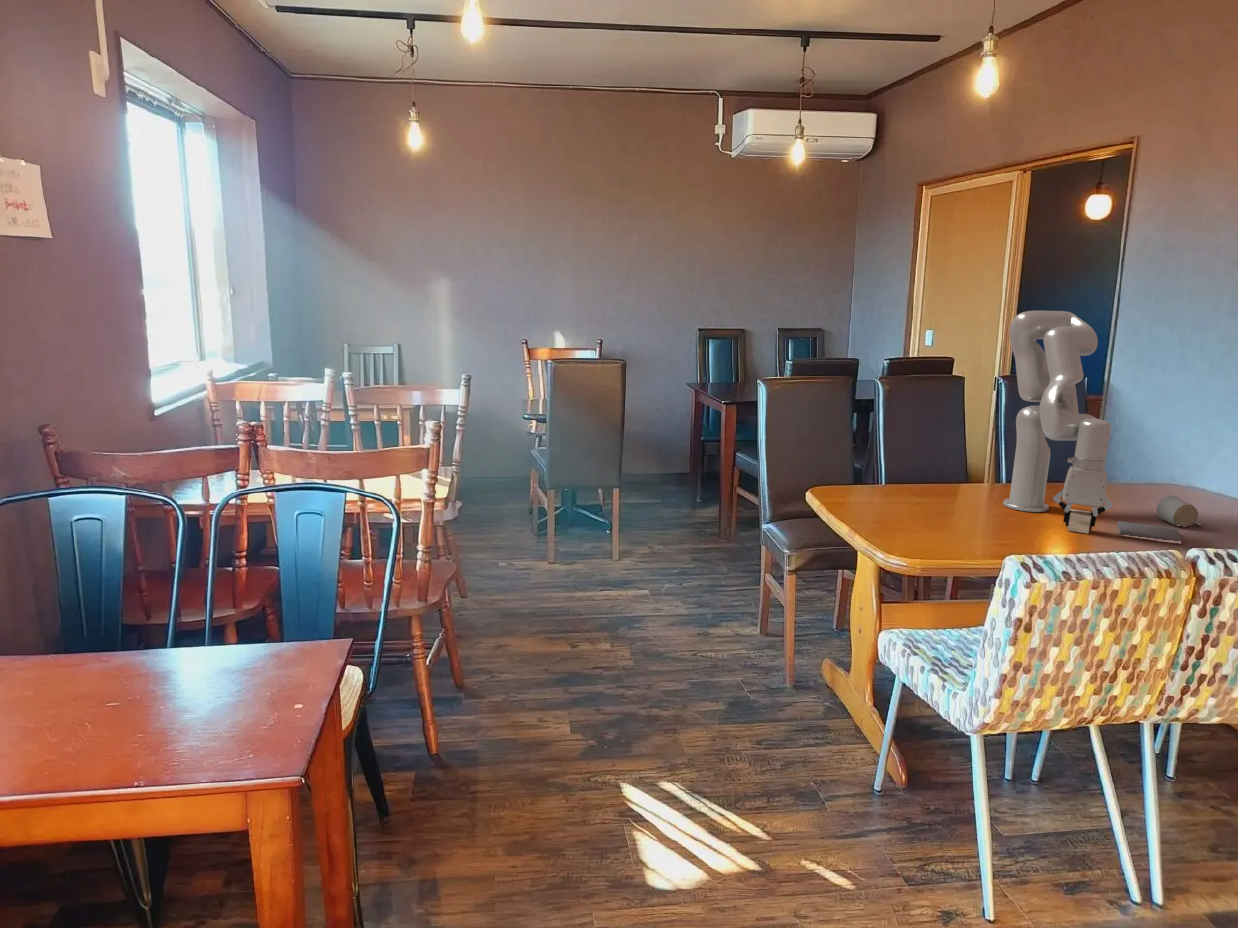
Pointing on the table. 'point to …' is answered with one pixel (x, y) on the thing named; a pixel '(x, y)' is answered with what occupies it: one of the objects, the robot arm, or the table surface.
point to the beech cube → (1079, 521)
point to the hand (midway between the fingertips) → (1078, 526)
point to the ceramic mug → (1177, 511)
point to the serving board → (1148, 531)
